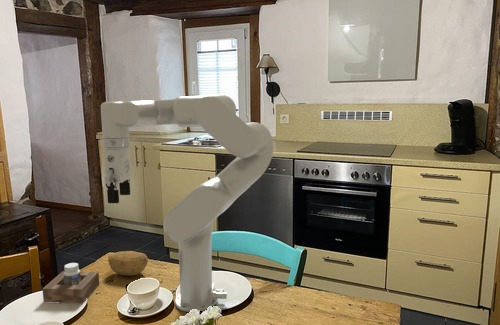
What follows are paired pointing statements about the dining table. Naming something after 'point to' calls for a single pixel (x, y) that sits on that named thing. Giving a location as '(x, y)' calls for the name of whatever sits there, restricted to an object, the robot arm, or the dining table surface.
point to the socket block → (71, 288)
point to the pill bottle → (72, 274)
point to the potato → (128, 262)
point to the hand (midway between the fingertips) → (119, 198)
